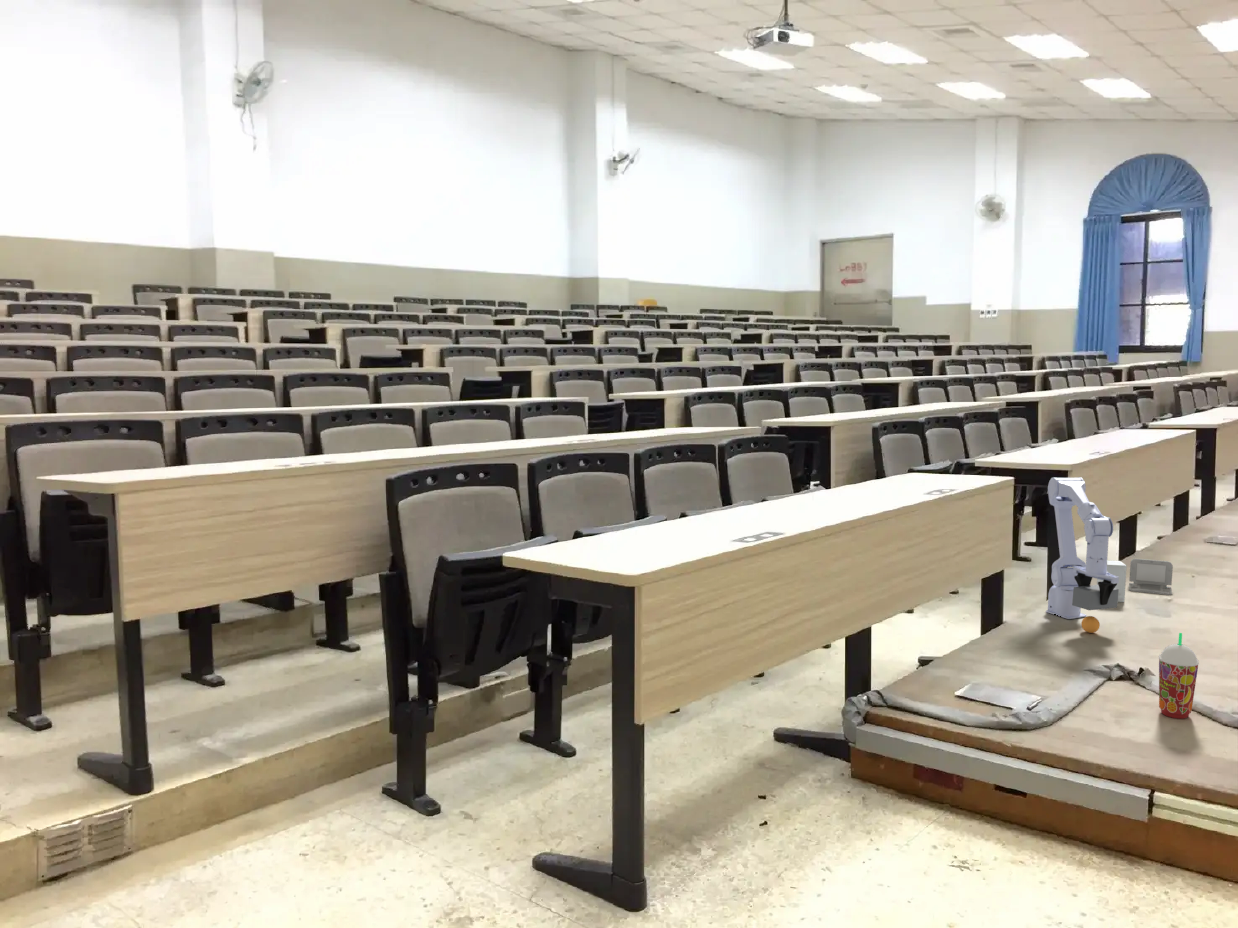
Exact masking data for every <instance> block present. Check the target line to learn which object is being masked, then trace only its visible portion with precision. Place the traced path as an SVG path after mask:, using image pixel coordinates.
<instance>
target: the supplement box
mask: <svg viewBox="0 0 1238 928" xmlns="http://www.w3.org/2000/svg"><path fill="white" fill-rule="evenodd" d="M1107 571H1108V573H1110V574H1112V575H1115V576H1118V577H1119V583H1117V585H1116V586H1115V588H1116V589H1119V592H1118V603H1125V599H1126V597H1125V596H1126V585H1127V584H1126V582H1127V565H1126V564H1125V563H1124V562H1122V561H1121V560H1108V559H1107ZM1102 581H1103V580H1100V579H1097V578H1096V585H1098V582H1102Z"/></svg>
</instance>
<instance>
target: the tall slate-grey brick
mask: <svg viewBox="0 0 1238 928" xmlns="http://www.w3.org/2000/svg"><path fill="white" fill-rule="evenodd" d="M1118 592H1119V589H1116V588H1114V589H1113V591H1112V593H1111V595H1110V597H1109V600H1108V603H1107V604H1106V605H1100V589H1099V585H1097V584H1093V585H1091V584H1090V586H1079V587H1074V590H1073V601H1072V605H1073V606H1076V607H1080V608H1081V609H1083V610H1087V611H1095V610H1098V611H1099V610H1104V609H1105V610H1106V609H1115V608H1118V603H1119V602H1118Z"/></svg>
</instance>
